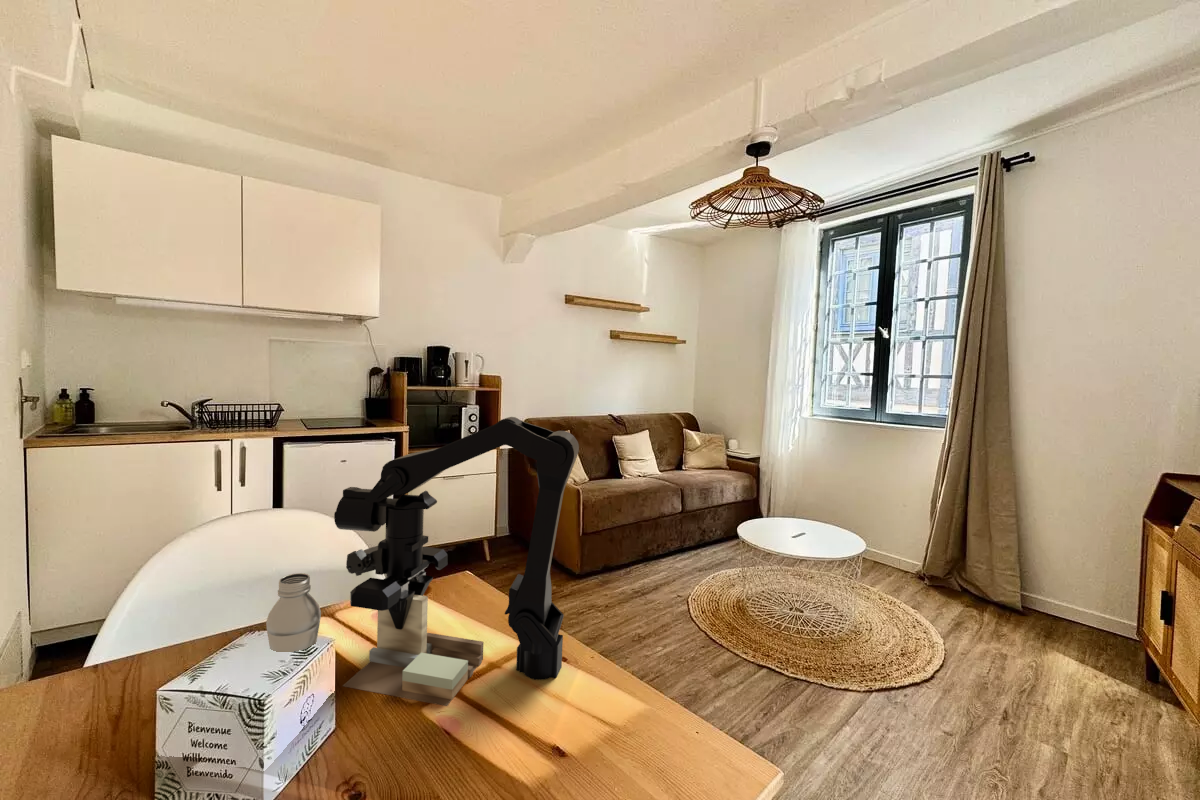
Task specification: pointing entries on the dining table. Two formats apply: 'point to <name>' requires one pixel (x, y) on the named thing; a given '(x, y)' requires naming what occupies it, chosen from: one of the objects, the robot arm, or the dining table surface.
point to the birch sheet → (405, 629)
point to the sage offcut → (435, 670)
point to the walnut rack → (389, 665)
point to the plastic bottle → (293, 615)
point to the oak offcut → (434, 688)
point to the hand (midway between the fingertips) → (402, 625)
